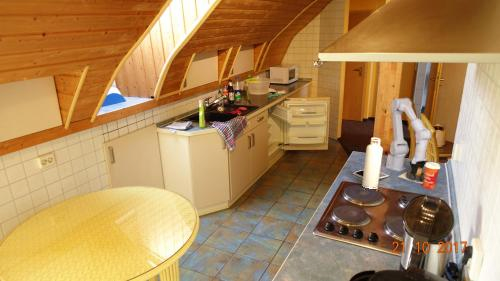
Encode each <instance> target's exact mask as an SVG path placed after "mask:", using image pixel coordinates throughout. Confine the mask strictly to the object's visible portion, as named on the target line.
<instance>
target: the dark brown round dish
mask: <svg viewBox="0 0 500 281" xmlns="http://www.w3.org/2000/svg"><path fill="white" fill-rule="evenodd" d="M406 178H407V179H409V180H408V181H410V180H412V181H411V182H414V181H416V182H415V183H417V182H423V181H424V171H422V173H421V176H418V175H413V174H412V169H409V170H408V169H407V170H406ZM407 179H406V180H407Z"/></svg>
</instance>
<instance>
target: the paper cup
mask: <svg viewBox="0 0 500 281" xmlns="http://www.w3.org/2000/svg"><path fill="white" fill-rule="evenodd" d="M440 169H441V166H440V164H439V163H437V162H434V161H433V162H432V161H427V162H426V164H425V165H424V171H423V172H424V181H423V184H422V187H423V188H424V189H426V190H434V189H435V187H436V184H437V183H436V182H437V179H438V177H439V176H438V175H439V172H440Z"/></svg>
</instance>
